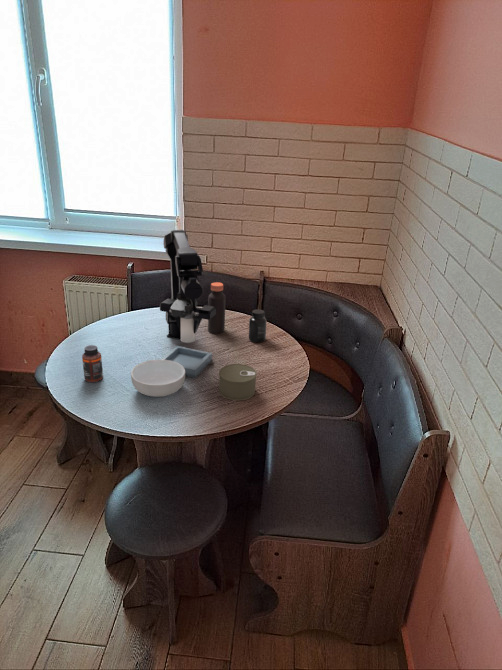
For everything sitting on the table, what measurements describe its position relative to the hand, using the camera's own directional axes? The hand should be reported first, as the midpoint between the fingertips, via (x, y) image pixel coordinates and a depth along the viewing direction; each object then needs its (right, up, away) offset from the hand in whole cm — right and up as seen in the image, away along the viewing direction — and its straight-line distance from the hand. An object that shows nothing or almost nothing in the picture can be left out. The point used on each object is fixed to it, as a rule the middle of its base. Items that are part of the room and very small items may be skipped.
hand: (187, 331), depth 172 cm
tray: (-1, -12, +3) cm, 12 cm away
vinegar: (+8, 0, +31) cm, 32 cm away
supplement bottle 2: (+24, -3, +25) cm, 35 cm away
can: (+17, -19, -11) cm, 28 cm away
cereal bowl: (-8, -19, -13) cm, 24 cm away
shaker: (0, -3, +1) cm, 3 cm away
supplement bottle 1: (-30, -16, -8) cm, 35 cm away
